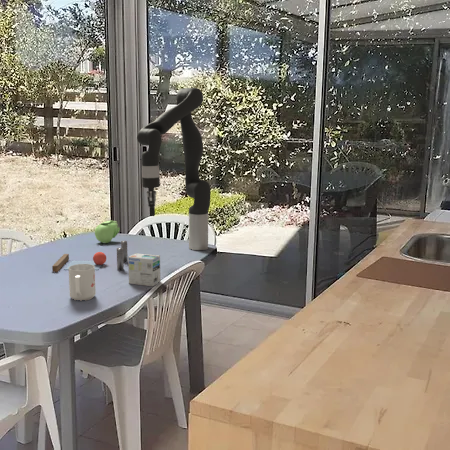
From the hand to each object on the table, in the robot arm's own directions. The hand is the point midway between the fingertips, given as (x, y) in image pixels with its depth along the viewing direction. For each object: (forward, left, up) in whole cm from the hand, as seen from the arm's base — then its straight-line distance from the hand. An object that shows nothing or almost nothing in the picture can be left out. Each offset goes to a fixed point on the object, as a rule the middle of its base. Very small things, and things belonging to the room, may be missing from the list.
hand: (152, 215), depth 248 cm
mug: (+20, +52, -20) cm, 59 cm away
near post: (+12, +14, -20) cm, 28 cm away
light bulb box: (0, +33, -21) cm, 39 cm away
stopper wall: (+38, +8, -20) cm, 44 cm away
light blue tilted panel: (+28, +8, -20) cm, 36 cm away
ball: (+22, +7, -17) cm, 29 cm away
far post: (+12, +2, -20) cm, 24 cm away
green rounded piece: (+25, -35, -20) cm, 48 cm away
